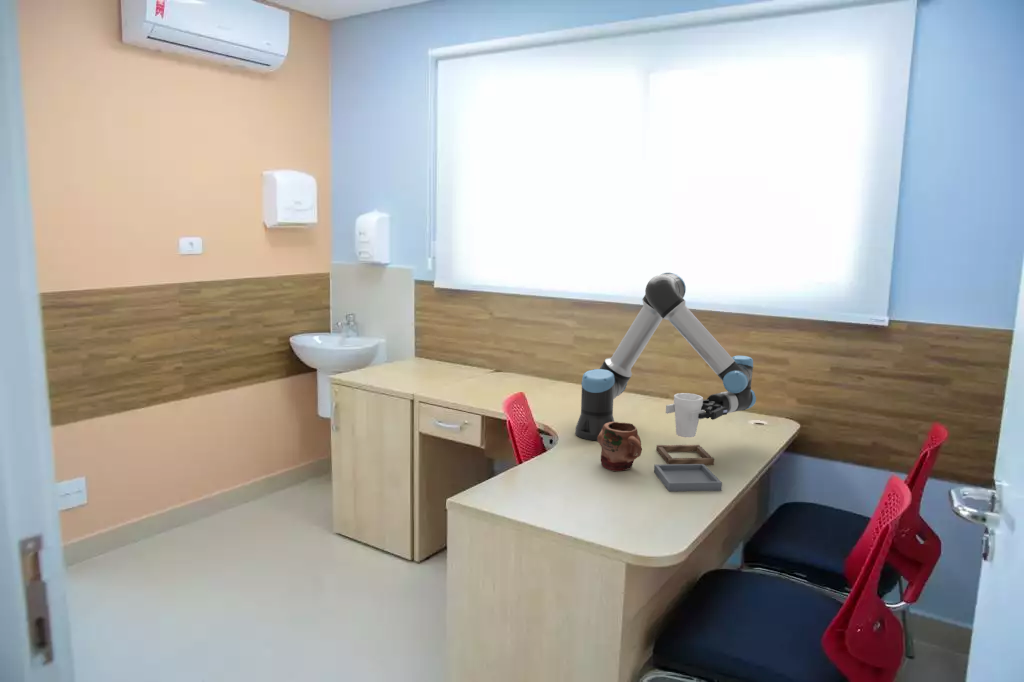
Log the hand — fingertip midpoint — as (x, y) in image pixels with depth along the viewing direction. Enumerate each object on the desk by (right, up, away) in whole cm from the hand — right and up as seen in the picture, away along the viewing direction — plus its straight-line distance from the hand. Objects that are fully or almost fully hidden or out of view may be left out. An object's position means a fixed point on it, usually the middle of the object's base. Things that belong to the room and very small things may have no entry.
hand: (678, 413), depth 238 cm
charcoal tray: (-1, -19, -15) cm, 25 cm away
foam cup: (+3, -8, +4) cm, 9 cm away
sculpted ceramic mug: (-20, -17, -5) cm, 27 cm away
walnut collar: (+3, -16, +6) cm, 17 cm away
